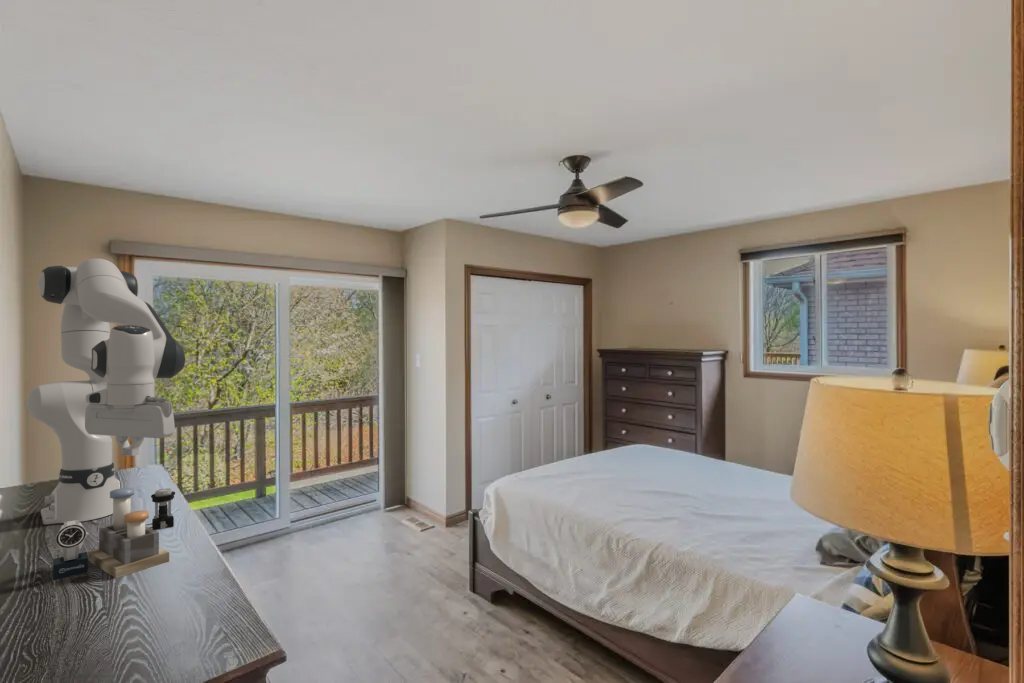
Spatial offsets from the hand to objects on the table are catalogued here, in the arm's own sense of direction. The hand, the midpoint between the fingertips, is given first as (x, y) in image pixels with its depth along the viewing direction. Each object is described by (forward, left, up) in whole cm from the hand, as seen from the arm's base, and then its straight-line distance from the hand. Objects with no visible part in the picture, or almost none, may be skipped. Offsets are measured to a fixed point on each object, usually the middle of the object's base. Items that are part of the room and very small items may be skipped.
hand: (129, 455), depth 114 cm
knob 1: (-3, -1, -18) cm, 18 cm away
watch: (-2, -10, -24) cm, 26 cm away
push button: (-16, +12, -24) cm, 31 cm away
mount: (+1, -1, -24) cm, 24 cm away
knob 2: (+5, -1, -22) cm, 22 cm away
